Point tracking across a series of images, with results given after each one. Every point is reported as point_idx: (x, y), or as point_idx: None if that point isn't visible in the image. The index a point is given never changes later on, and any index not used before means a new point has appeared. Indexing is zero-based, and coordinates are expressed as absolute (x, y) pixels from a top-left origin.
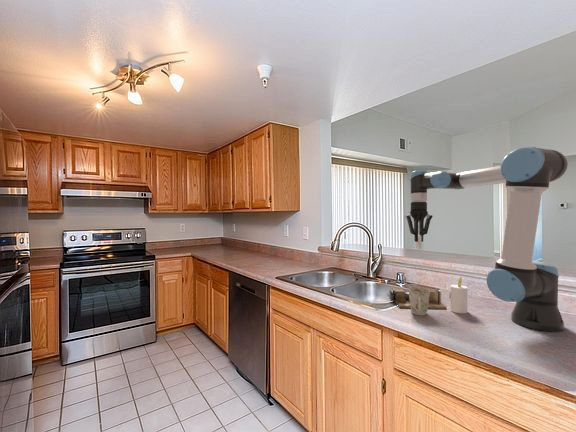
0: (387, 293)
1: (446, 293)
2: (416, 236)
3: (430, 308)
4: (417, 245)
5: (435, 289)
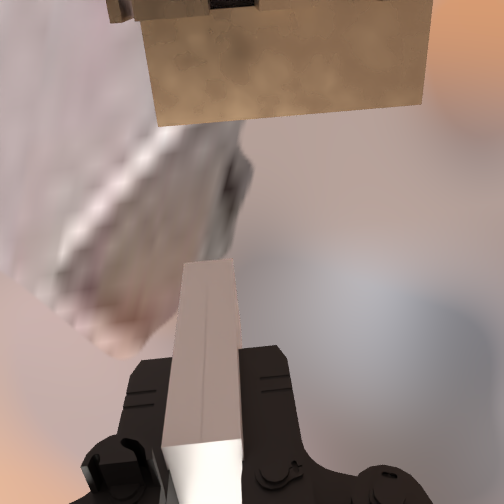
0: (420, 101)
1: (29, 191)
2: (275, 436)
3: None
4: (237, 316)
5: (119, 6)
